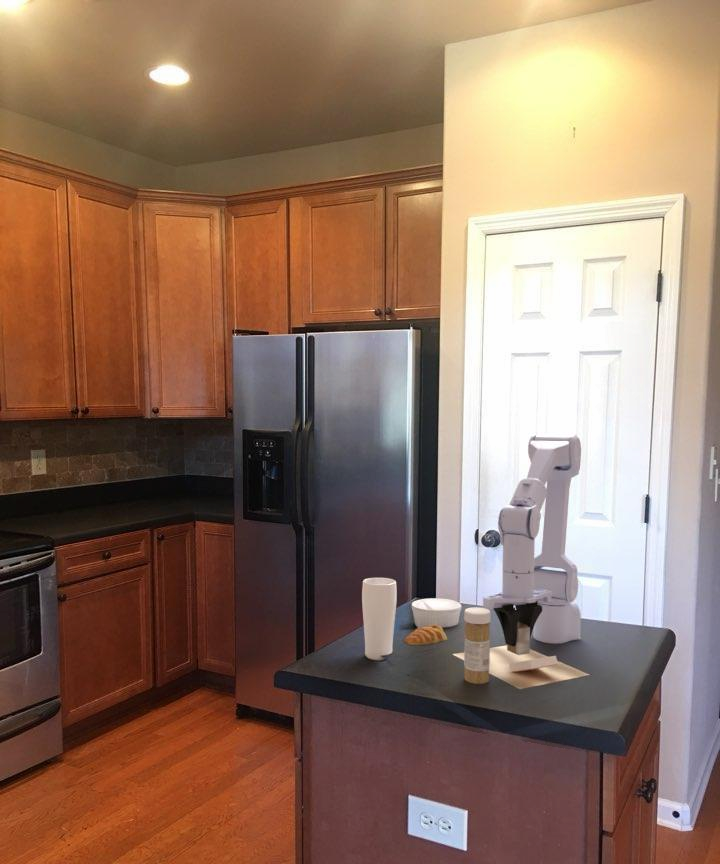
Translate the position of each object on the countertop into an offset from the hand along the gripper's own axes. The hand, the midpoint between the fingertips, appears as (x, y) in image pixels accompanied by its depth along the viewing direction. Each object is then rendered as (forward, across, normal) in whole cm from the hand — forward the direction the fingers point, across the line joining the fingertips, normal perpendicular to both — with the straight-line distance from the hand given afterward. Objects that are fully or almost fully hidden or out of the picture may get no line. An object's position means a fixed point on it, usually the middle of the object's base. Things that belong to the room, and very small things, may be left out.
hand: (517, 643), depth 131 cm
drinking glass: (+6, -19, +19) cm, 27 cm away
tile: (+3, 0, -2) cm, 4 cm away
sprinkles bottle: (+6, -11, -2) cm, 12 cm away
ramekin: (+6, +3, +32) cm, 32 cm away
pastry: (+6, -6, +22) cm, 23 cm away
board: (+5, +1, +1) cm, 6 cm away
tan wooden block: (+1, 0, 0) cm, 1 cm away
